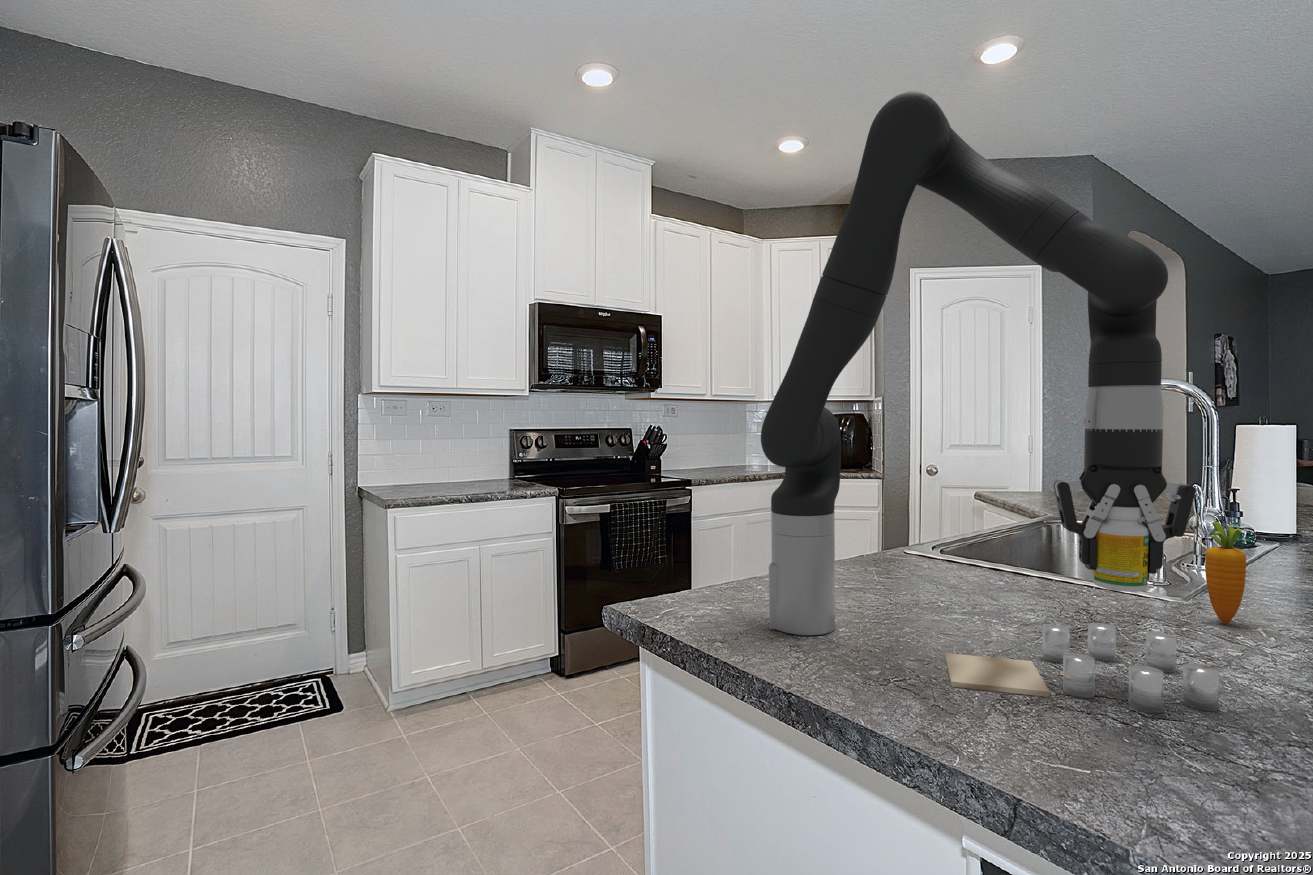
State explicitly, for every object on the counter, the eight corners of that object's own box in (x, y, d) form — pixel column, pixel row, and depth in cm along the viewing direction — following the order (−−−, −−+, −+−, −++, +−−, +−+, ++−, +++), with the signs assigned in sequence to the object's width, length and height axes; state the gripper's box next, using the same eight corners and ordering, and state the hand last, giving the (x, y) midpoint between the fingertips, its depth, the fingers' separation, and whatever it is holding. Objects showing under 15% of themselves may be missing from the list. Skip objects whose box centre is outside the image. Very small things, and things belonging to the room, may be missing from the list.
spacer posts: (1072, 704, 73) (1072, 667, 73) (1036, 647, 91) (1036, 618, 91) (1234, 722, 68) (1235, 682, 68) (1163, 658, 86) (1163, 627, 86)
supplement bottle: (1088, 579, 83) (1089, 501, 83) (1140, 583, 81) (1142, 503, 81) (1097, 590, 78) (1098, 507, 78) (1153, 594, 76) (1155, 509, 76)
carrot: (1254, 630, 97) (1255, 526, 97) (1212, 627, 99) (1213, 524, 98) (1237, 620, 102) (1238, 521, 101) (1197, 618, 103) (1198, 520, 103)
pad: (951, 686, 78) (951, 681, 78) (944, 657, 88) (944, 652, 88) (1049, 697, 75) (1049, 691, 75) (1032, 665, 85) (1031, 660, 85)
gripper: (1060, 426, 78) (1057, 573, 78) (1212, 426, 73) (1208, 582, 74) (1046, 425, 85) (1043, 559, 86) (1183, 425, 80) (1180, 567, 81)
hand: (1119, 569), depth 80 cm, fingers closed on supplement bottle, 5 cm apart
